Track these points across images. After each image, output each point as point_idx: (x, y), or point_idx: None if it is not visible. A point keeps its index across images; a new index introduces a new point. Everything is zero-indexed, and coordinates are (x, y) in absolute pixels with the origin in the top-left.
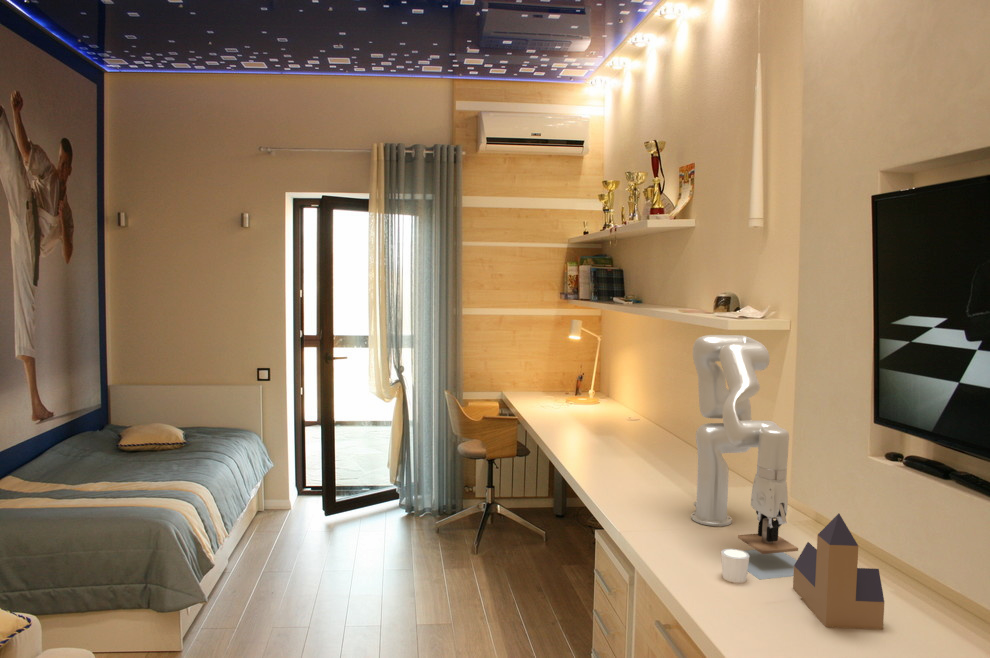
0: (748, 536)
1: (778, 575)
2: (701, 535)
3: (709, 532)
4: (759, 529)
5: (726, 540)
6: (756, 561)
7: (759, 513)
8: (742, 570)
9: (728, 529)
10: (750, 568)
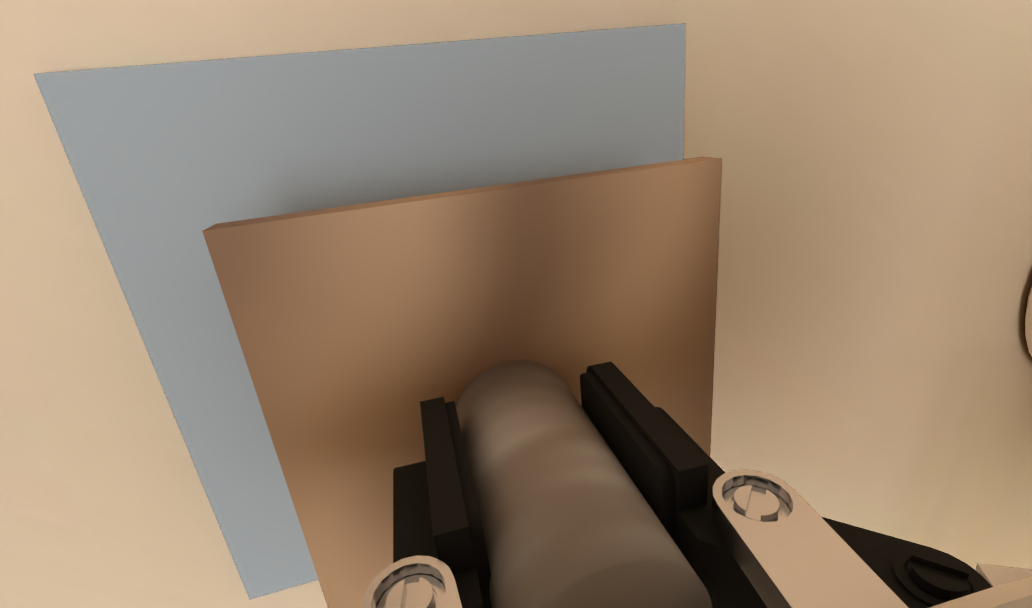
0: (665, 267)
1: (174, 307)
2: (989, 72)
3: (1000, 162)
4: (621, 406)
5: (867, 218)
6: None
7: (840, 600)
8: None
9: (983, 311)
10: (329, 124)
